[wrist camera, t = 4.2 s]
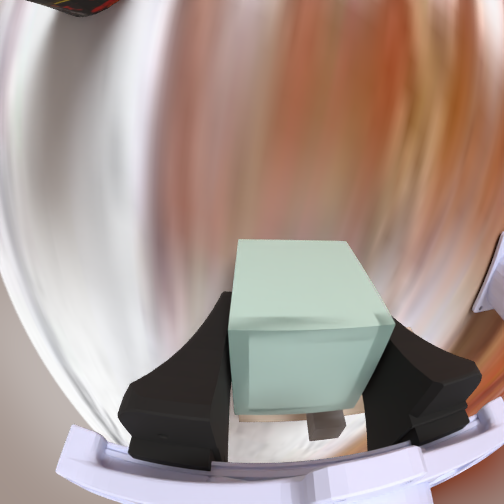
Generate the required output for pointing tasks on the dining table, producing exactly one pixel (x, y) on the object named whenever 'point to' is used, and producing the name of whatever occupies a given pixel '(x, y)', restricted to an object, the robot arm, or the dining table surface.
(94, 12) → the deodorant
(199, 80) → the dining table surface
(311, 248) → the mint green grooved cube
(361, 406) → the board
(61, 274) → the dining table surface
